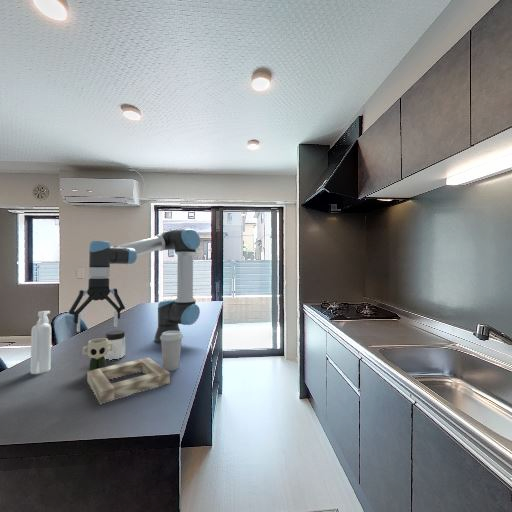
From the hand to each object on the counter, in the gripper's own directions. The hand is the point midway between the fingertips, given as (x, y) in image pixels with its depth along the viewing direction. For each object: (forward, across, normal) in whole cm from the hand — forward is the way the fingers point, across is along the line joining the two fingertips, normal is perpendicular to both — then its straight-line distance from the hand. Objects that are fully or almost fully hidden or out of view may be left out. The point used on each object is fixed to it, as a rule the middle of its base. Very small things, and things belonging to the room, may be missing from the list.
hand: (97, 329), depth 112 cm
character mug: (+18, 0, 0) cm, 18 cm away
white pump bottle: (+18, +18, -16) cm, 30 cm away
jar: (+18, -10, -14) cm, 25 cm away
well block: (+18, -7, +19) cm, 27 cm away
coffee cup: (+18, -25, +16) cm, 35 cm away
